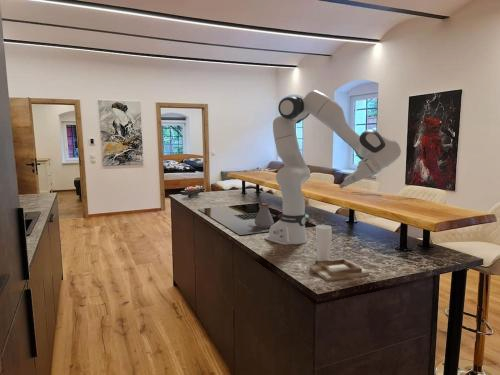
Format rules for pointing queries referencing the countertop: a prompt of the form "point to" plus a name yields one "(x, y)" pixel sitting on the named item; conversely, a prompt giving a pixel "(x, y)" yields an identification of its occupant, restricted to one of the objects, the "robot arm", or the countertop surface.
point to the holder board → (338, 269)
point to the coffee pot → (264, 216)
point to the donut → (306, 218)
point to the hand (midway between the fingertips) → (341, 186)
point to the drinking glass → (323, 242)
